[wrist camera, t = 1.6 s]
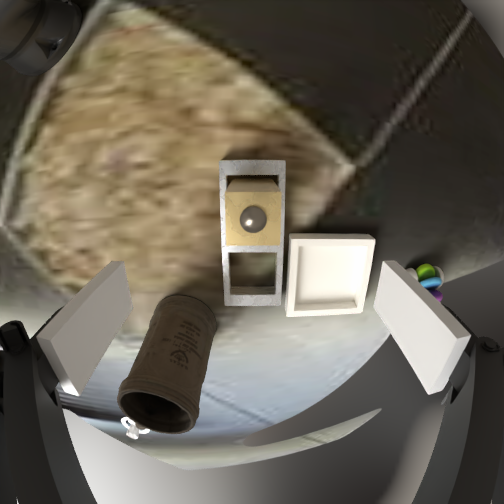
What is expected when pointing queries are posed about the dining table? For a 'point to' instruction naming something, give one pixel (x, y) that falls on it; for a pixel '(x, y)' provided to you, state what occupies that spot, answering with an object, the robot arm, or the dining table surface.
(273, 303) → the gray rectangular frame
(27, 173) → the dining table surface
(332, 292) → the parts tray
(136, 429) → the white valve handwheel
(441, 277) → the rainbow petal fan toy
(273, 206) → the tan knobbed block
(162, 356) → the beer stein
